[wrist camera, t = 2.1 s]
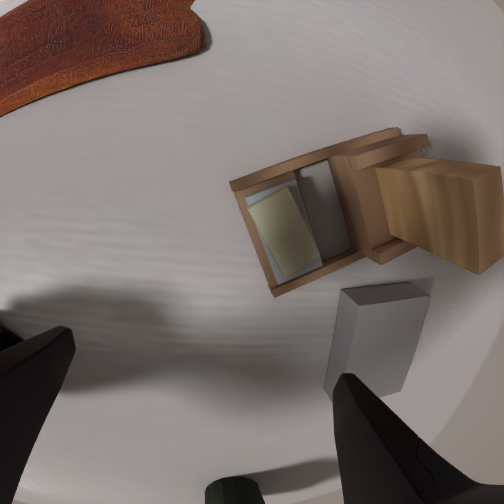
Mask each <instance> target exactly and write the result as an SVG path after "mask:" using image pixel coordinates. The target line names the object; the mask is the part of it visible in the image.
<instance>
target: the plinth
mask: <svg viewBox="0 0 504 504" xmlns="http://www.w3.org/2000/svg"><path fill="white" fill-rule="evenodd" d="M429 299H430V295H429V294H427V293H425V292H424V291H422V290H421V289H419V288H417V287H416V286H414V285H413V284H411V283H409V282H407V283H398V284H389V285H380V286H370V287H360V288H350V289H341V290H340V297H339V304H338V311H337V318H336V324H335V330H334V336H333V342H332V348H331V353H330V359H329V364H328V369H327V374H326V379H325V384H324V389H325V391H326V393H327V394H328V396H329V398H330V399H331V401H332V403H333V398H332V395H333V390H334V387H335V385H336V383H337V381H338V379H339V376H340V375H341V374H342V373H353V374H355V375H356V376H357V377H358V378H359V379H360V380H361V381H362V382H363V383H364V384H365V385H366V386H367V387H368V388H369V389H370V390H371V391H372V392H373V393H374V394H375V395H376V396H377V397H378V398H380V397H383V396H386V395H390V394H393V393H396V392H399V391H401V389H402V387H403V384H404V381H405V379H406V376H407V373H408V370H409V367H410V365H411V362H412V359H413V356H414V352H415V349H416V346H417V343H418V340H419V336H420V333H421V329H422V326H423V322H424V318H425V315H426V311H427V307H428V303H429Z"/></svg>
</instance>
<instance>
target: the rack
mask: <svg viewBox="0 0 504 504" xmlns="http://www.w3.org/2000/svg"><path fill="white" fill-rule="evenodd" d="M427 146H430V145H429V141H428V137H427V134H413V135H400V133H399V129H398V127H396V128H388V129H385V130H381V131H378V132H374V133H371V134H367V135H364V136H361V137H357V138H354V139H351V140H348V141H344V142H341V143H338V144H335V145H332V146H328V147H325V148H322V149H319V150H316V151H313V152H310V153H307V154H304V155H301V156H298V157H295V158H293V159H290V160H287V161H284V162H281V163H278V164H276V165H273V166H270V167H267V168H265V169H262V170H259V171H256V172H254V173H251V174H248V175H246V176H243V177H241V178H238V179H235V180H233V181H230V182H229V184H230V186H231V189H232V191H233V192H234V194H235V197H236V200H237V202H238V205H239V208H240V210H241V213H242V215H243V218H244V221H245V223H246V226H247V228H248V231H249V234H250V236H251V239H252V242H253V244H254V247H255V249H256V252H257V255H258V257H259V260H260V263H261V265H262V268H263V270H264V273H265V276H266V278H267V281H268V284H269V285H268V286H269V288H270V291H271V293H272V295H273V296H274V298H275V297H277V296H280V295H282V294H284V293H286V292H289V291H291V290H293V289H296V288H298V287H300V286H302V285H305V284H307V283H309V282H311V281H314V280H316V279H318V278H320V277H323V276H325V275H327V274H329V273H331V272H333V271H336V270H338V269H340V268H342V267H344V266H346V265H349V264H351V263H353V262H355V261H357V260H359V259H361V258H363V257H365V256H366V257H368V258H370V259H372V260H373V261H375V262H377V263H378V264H380V265H382V264H384V263H386V262H388V261H390V260H392V259H394V258H396V257H398V256H400V255H402V254H403V253H405V252H407V251H409V250H411V249H413V248H415V247H417V246H416V245H414V244H411V243H409V242H407V241H404V240H402V239H400V238H397V237H395V236H393V235H390V231H389V226H388V221H387V216H386V211H385V207H384V202H383V198H382V194H381V189H380V185H379V181H378V177H377V173H376V169H375V167H378V166H380V165H383V164H386V163H389V162H392V161H395V160H397V159H400V158H403V157H407V158H423V155H422V151H421V148H424V147H427ZM326 158H327V160H328V163H329V167H330V170H331V173H332V176H333V180H334V183H335V186H336V190H337V193H338V197H339V200H340V204H341V208H342V211H343V215H344V219H345V222H346V226H347V230H348V234H349V238H350V242H351V246H352V248H351V249H349V250H346V251H344V252H342V253H340V254H337V255H335V256H333V257H331V258H329V259H326V260H324V261H322V260H321V257H320V253H319V250H318V246H317V243H316V240H315V236H314V233H313V230H312V226H311V223H310V220H309V217H308V213H307V210H306V207H305V204H304V201H303V198H302V195H301V192H300V189H299V186H298V183H297V180H296V177H295V174H294V171H293V170H295V169H297V168H300V167H303V166H306V165H309V164H312V163H315V162H317V161H320V160H323V159H326Z"/></svg>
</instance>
